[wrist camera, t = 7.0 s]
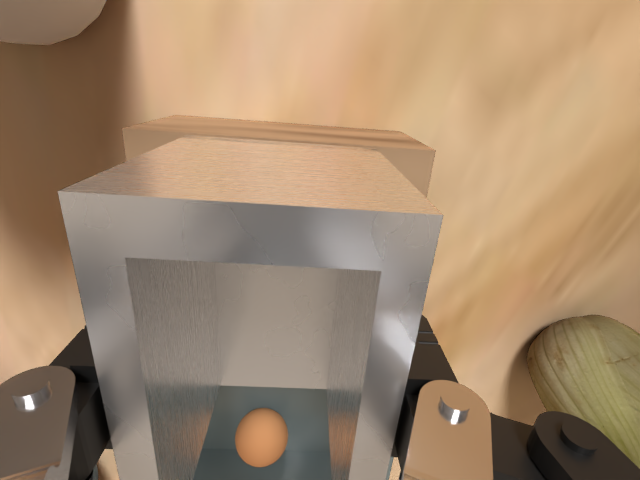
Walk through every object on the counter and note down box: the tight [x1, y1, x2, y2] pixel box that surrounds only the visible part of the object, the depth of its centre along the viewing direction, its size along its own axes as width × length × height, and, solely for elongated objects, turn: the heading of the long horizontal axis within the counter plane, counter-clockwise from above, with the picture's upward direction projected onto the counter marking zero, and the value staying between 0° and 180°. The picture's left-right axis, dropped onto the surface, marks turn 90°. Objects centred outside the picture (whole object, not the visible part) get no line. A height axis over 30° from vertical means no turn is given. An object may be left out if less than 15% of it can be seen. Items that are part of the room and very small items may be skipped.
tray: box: [193, 385, 394, 480], centre depth 21 cm, size 12×13×4 cm
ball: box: [235, 408, 288, 467], centre depth 21 cm, size 3×3×3 cm
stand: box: [122, 115, 436, 198], centre depth 16 cm, size 9×10×5 cm
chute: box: [58, 135, 443, 480], centre depth 10 cm, size 9×6×6 cm, turn 176°
